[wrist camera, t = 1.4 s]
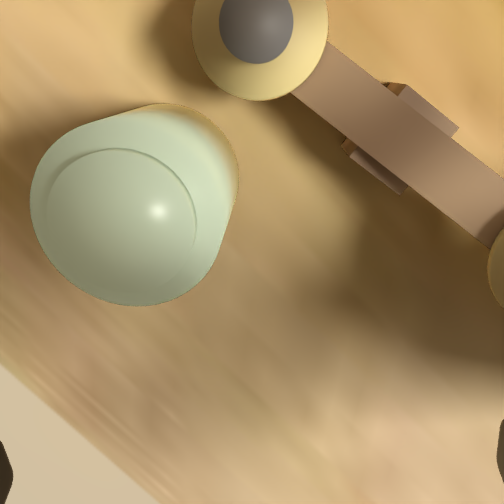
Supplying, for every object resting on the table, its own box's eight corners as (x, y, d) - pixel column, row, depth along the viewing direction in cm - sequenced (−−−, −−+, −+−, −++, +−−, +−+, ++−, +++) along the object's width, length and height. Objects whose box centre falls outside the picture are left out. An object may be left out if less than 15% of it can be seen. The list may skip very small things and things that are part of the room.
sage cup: (239, 104, 19) (219, 123, 13) (239, 244, 21) (222, 318, 15) (91, 102, 19) (2, 119, 13) (107, 240, 21) (37, 311, 15)
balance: (582, 211, 19) (690, 264, 14) (498, 290, 21) (569, 363, 16) (247, -68, 16) (231, -128, 11) (178, 47, 18) (136, 40, 13)
